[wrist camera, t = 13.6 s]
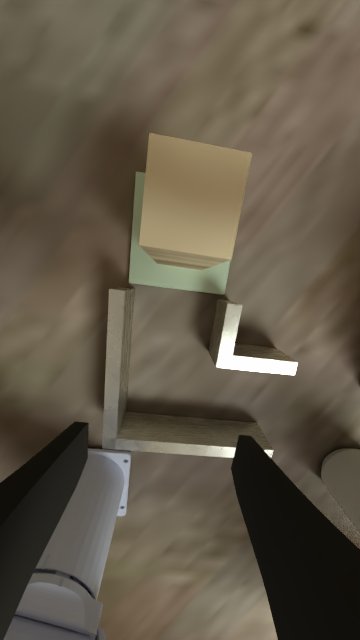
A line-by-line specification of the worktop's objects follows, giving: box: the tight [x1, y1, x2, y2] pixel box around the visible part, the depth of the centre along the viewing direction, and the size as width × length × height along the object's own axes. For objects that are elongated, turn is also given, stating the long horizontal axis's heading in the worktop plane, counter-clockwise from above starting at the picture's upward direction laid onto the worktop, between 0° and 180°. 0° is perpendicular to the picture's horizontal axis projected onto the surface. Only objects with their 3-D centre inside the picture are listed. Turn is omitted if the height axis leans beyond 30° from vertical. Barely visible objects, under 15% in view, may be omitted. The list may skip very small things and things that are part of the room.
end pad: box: [129, 171, 230, 295], centre depth 16 cm, size 9×9×1 cm
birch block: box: [139, 133, 252, 271], centre depth 12 cm, size 4×4×9 cm
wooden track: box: [102, 287, 298, 458], centre depth 17 cm, size 15×16×4 cm
